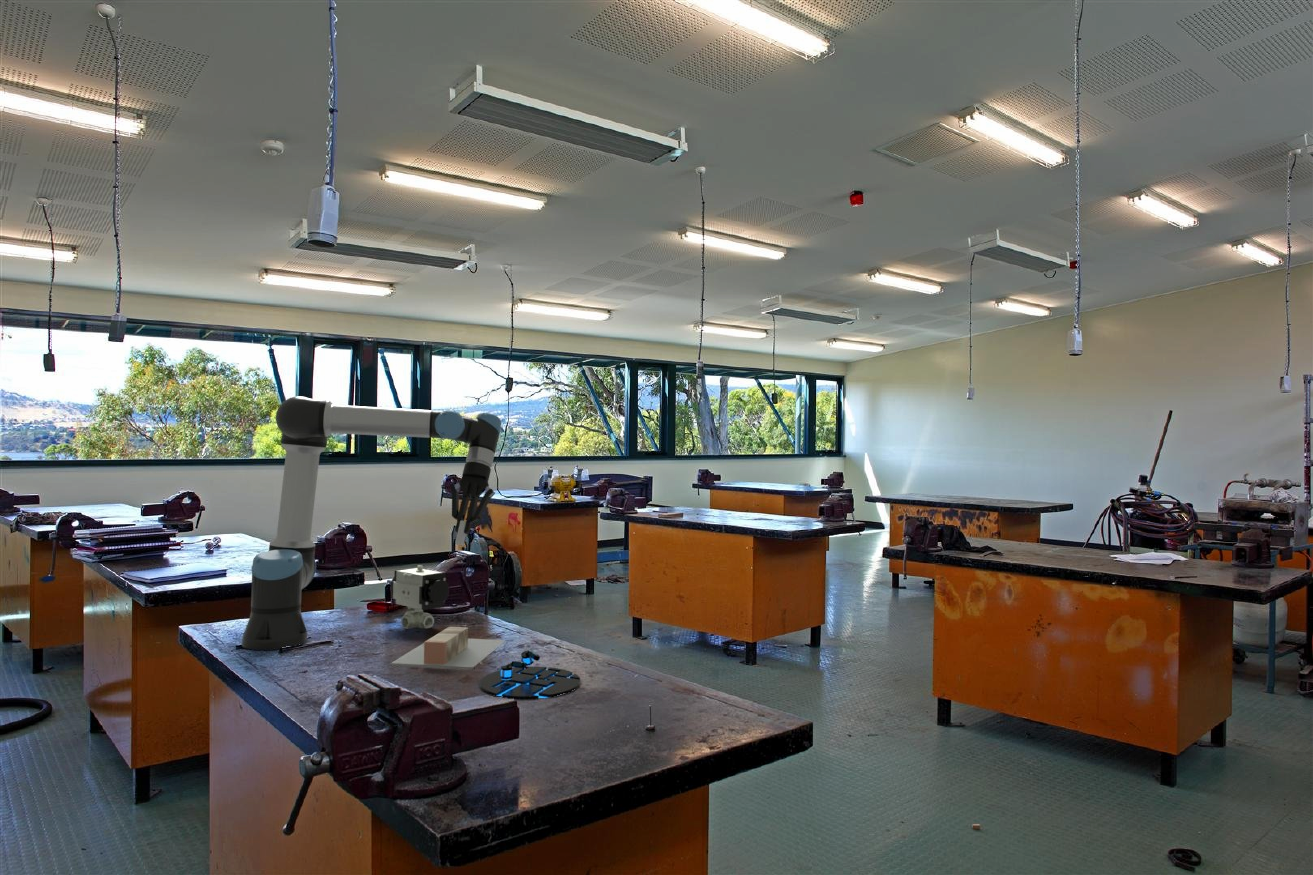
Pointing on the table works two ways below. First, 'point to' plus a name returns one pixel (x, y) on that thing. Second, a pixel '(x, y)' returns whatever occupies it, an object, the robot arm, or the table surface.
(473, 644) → the rubber mat
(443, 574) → the ball valve
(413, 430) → the robot arm
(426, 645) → the birch block
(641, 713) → the table surface
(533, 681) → the platform
